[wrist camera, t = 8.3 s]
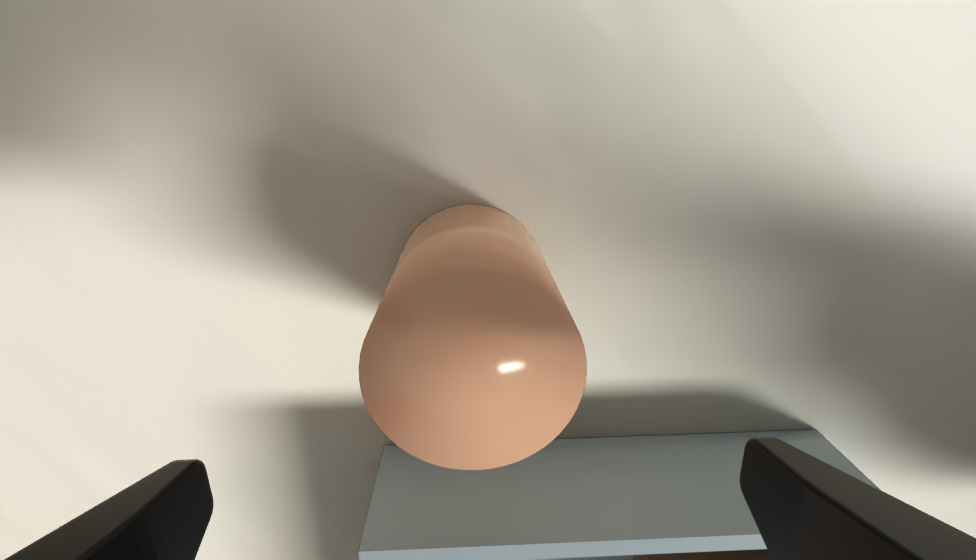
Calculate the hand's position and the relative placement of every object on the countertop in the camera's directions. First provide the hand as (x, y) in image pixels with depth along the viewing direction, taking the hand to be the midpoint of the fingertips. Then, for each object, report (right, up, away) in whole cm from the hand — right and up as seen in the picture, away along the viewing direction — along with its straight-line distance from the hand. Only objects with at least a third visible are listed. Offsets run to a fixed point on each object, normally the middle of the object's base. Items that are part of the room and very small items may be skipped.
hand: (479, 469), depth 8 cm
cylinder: (0, +3, +9) cm, 10 cm away
